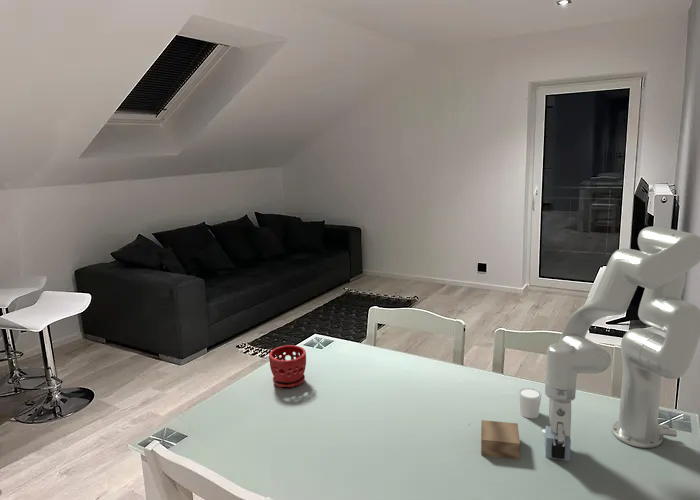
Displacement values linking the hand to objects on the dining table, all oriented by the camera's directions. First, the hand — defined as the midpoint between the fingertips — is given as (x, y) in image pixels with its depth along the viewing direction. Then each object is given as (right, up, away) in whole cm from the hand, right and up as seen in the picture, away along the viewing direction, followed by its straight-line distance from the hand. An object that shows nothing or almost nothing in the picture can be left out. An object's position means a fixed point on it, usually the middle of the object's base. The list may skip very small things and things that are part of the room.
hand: (556, 448), depth 141 cm
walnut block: (-14, -1, +4) cm, 15 cm away
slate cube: (0, -1, 0) cm, 1 cm away
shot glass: (-1, +3, +20) cm, 20 cm away
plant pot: (-78, +6, +46) cm, 91 cm away
